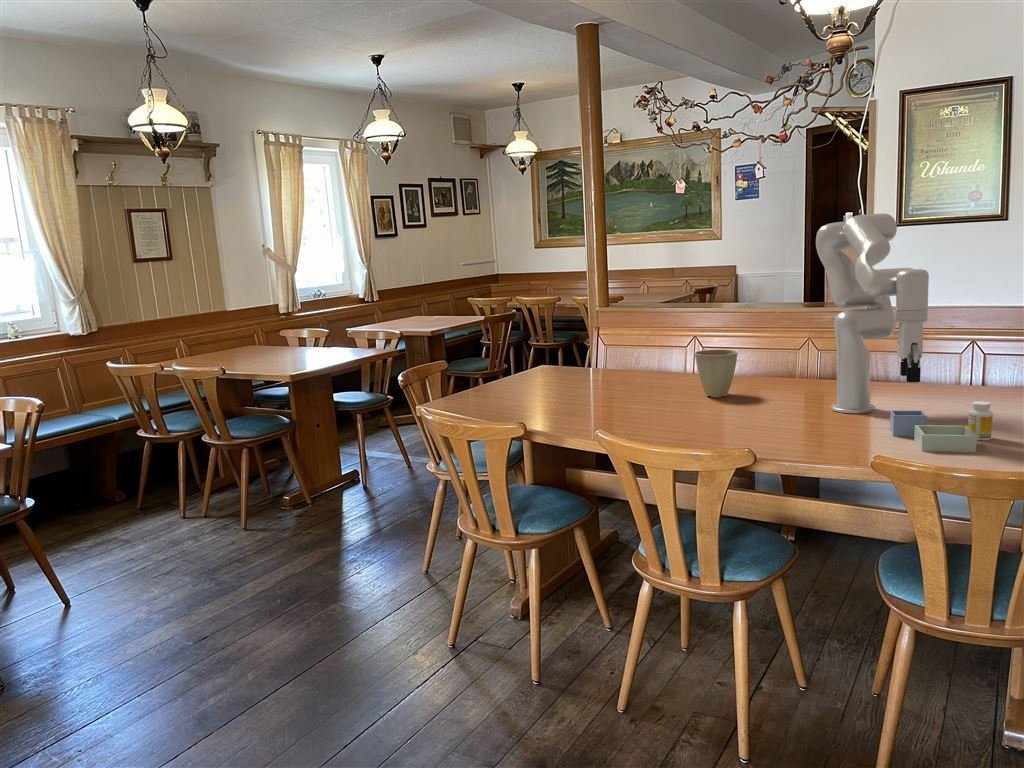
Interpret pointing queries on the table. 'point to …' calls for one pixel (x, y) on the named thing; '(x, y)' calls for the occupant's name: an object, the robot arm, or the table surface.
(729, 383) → the plant pot
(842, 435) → the table surface
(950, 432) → the large crate
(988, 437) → the supplement bottle
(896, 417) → the small crate
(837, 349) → the robot arm
